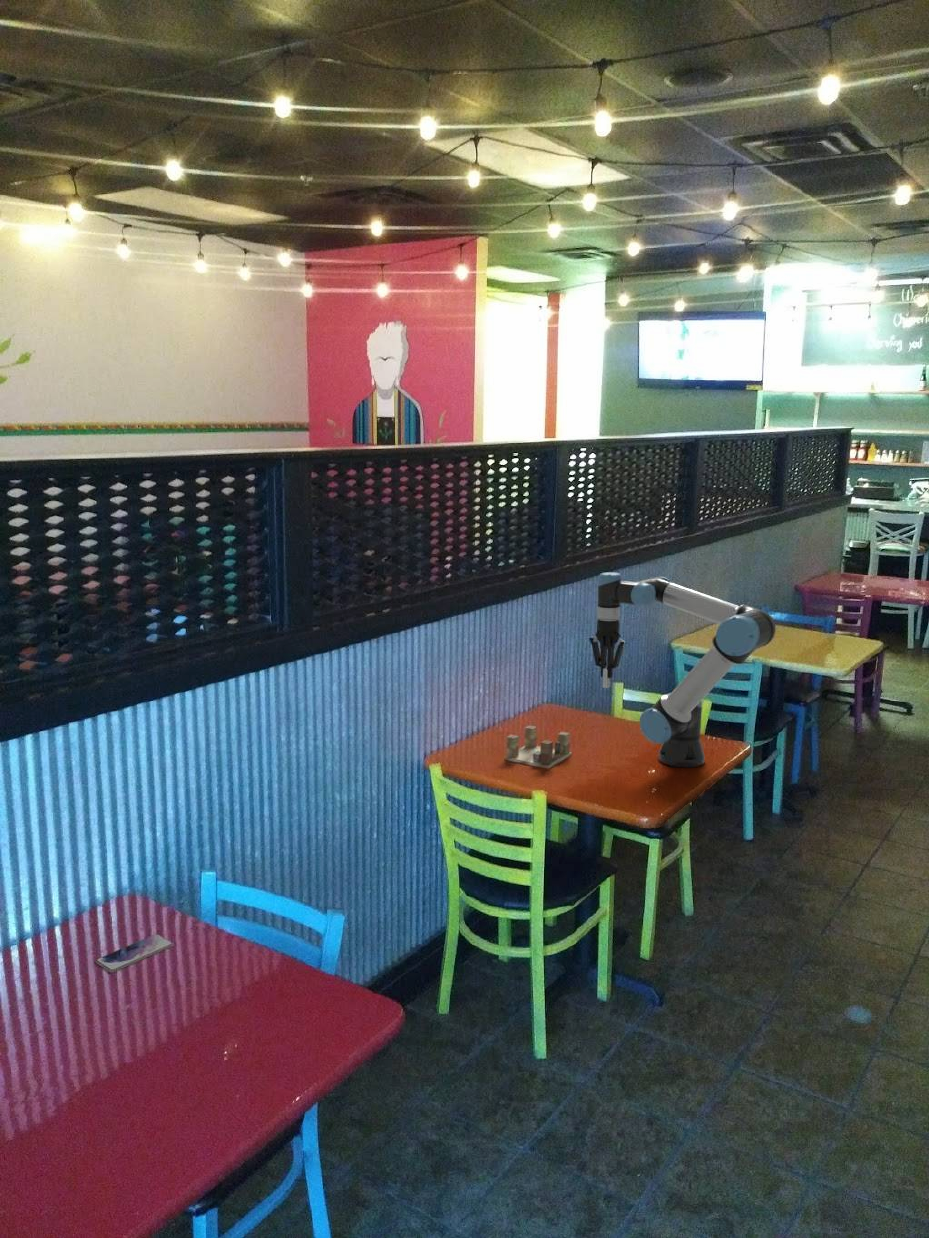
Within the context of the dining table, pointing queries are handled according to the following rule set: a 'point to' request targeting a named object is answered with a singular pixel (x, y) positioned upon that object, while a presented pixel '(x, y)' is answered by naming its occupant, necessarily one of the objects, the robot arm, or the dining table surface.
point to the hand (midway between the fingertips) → (606, 686)
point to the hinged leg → (549, 751)
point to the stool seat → (534, 749)
